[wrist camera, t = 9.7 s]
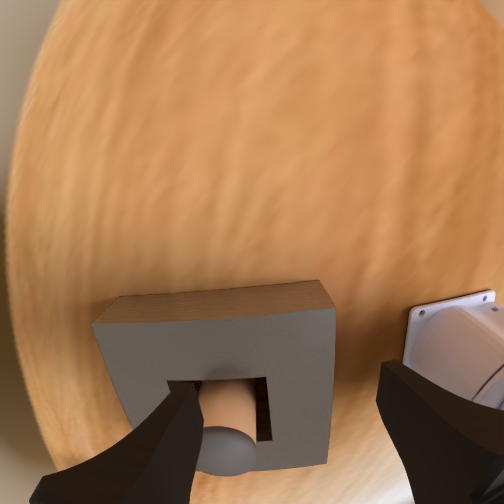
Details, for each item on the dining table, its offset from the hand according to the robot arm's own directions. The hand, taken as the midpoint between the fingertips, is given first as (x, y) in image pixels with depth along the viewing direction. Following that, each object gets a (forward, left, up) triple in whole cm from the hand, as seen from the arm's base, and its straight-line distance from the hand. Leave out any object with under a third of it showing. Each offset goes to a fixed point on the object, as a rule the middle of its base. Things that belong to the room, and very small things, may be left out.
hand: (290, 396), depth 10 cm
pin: (+4, +6, -10) cm, 12 cm away
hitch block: (+4, +6, -10) cm, 12 cm away
